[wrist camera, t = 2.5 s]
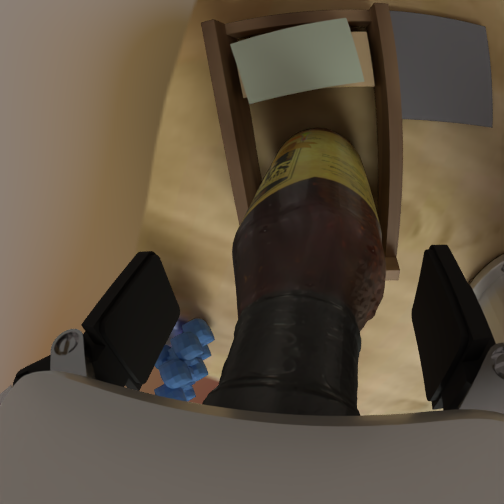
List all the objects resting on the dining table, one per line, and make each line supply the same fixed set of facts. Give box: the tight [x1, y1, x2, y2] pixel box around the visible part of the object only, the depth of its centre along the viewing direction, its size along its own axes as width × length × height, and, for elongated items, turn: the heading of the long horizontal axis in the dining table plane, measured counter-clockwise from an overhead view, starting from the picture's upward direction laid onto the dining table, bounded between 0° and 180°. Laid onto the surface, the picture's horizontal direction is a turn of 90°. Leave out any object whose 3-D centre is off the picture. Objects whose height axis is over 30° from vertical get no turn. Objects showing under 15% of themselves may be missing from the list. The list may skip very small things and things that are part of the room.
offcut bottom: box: [237, 32, 375, 98], centre depth 16 cm, size 8×4×4 cm, turn 101°
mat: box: [390, 11, 493, 128], centre depth 14 cm, size 8×8×1 cm
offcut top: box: [230, 18, 365, 104], centre depth 14 cm, size 6×4×3 cm, turn 107°
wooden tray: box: [201, 3, 403, 280], centre depth 17 cm, size 11×17×6 cm, turn 9°
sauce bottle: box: [203, 128, 386, 416], centre depth 13 cm, size 6×6×20 cm
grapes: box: [154, 318, 215, 401], centre depth 29 cm, size 12×7×12 cm, turn 168°
